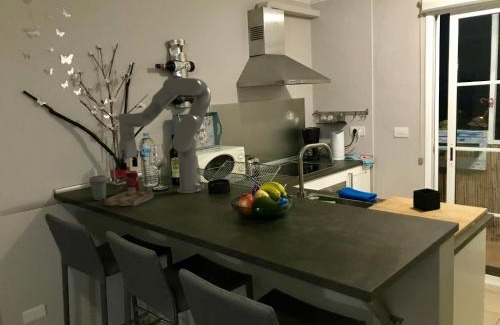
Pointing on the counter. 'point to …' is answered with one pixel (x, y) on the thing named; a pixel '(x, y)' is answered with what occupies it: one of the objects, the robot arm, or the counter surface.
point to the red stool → (132, 181)
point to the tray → (129, 198)
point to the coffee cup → (98, 187)
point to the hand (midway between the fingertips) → (129, 168)
